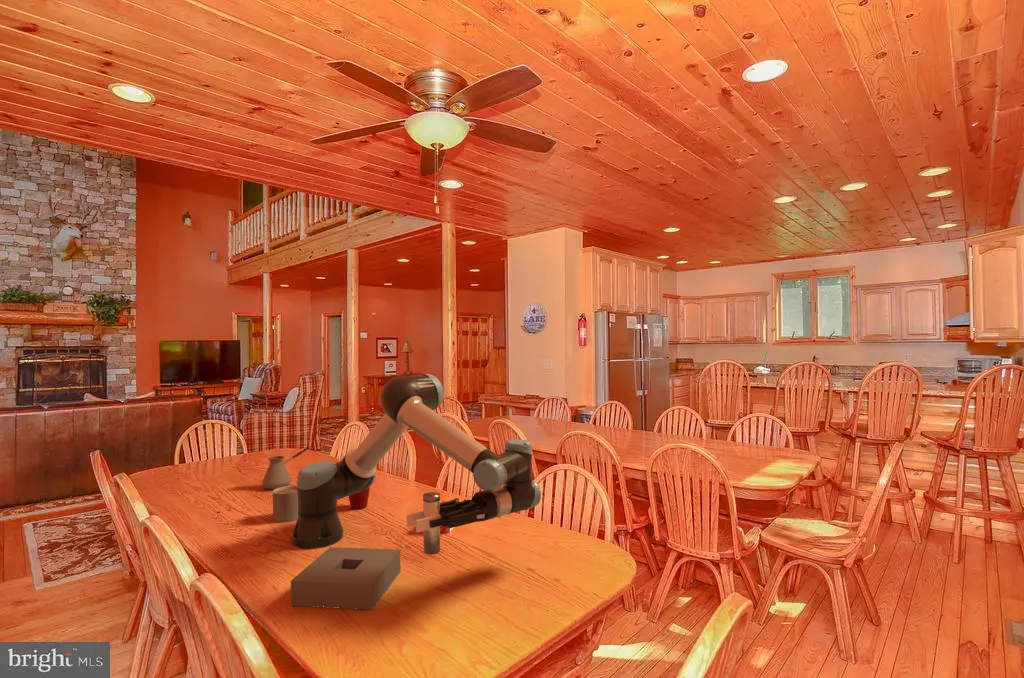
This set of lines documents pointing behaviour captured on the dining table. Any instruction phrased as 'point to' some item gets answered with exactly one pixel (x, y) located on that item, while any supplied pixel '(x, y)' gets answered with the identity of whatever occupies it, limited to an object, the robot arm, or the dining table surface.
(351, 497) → the plastic cup
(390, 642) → the dining table surface
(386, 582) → the block
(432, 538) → the steel pin
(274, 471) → the coffee pot
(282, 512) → the coffee mug
